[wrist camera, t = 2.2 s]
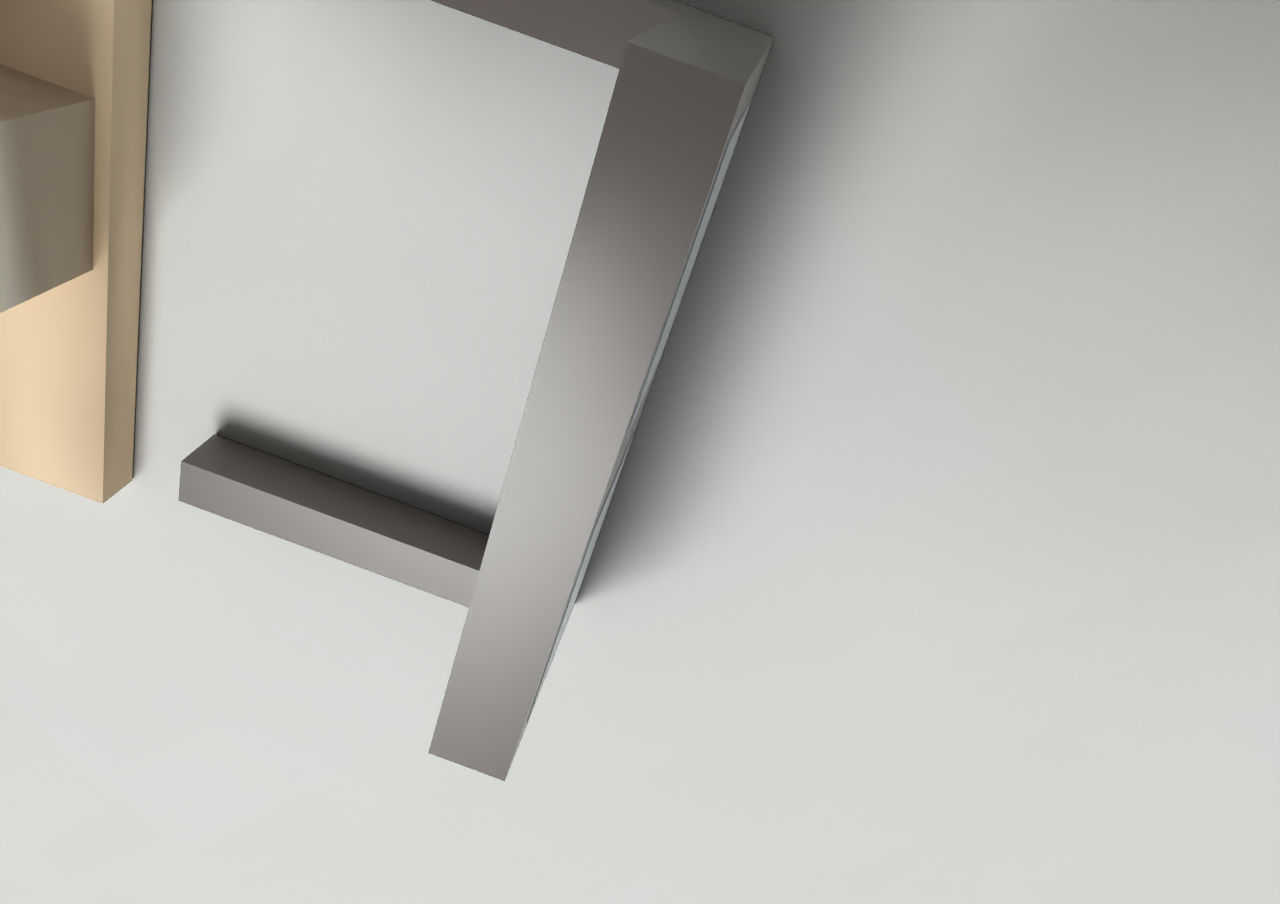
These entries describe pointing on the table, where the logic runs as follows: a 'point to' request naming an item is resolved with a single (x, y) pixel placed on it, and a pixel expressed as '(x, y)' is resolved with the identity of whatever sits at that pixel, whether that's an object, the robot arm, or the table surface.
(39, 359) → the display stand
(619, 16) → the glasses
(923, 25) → the table surface
